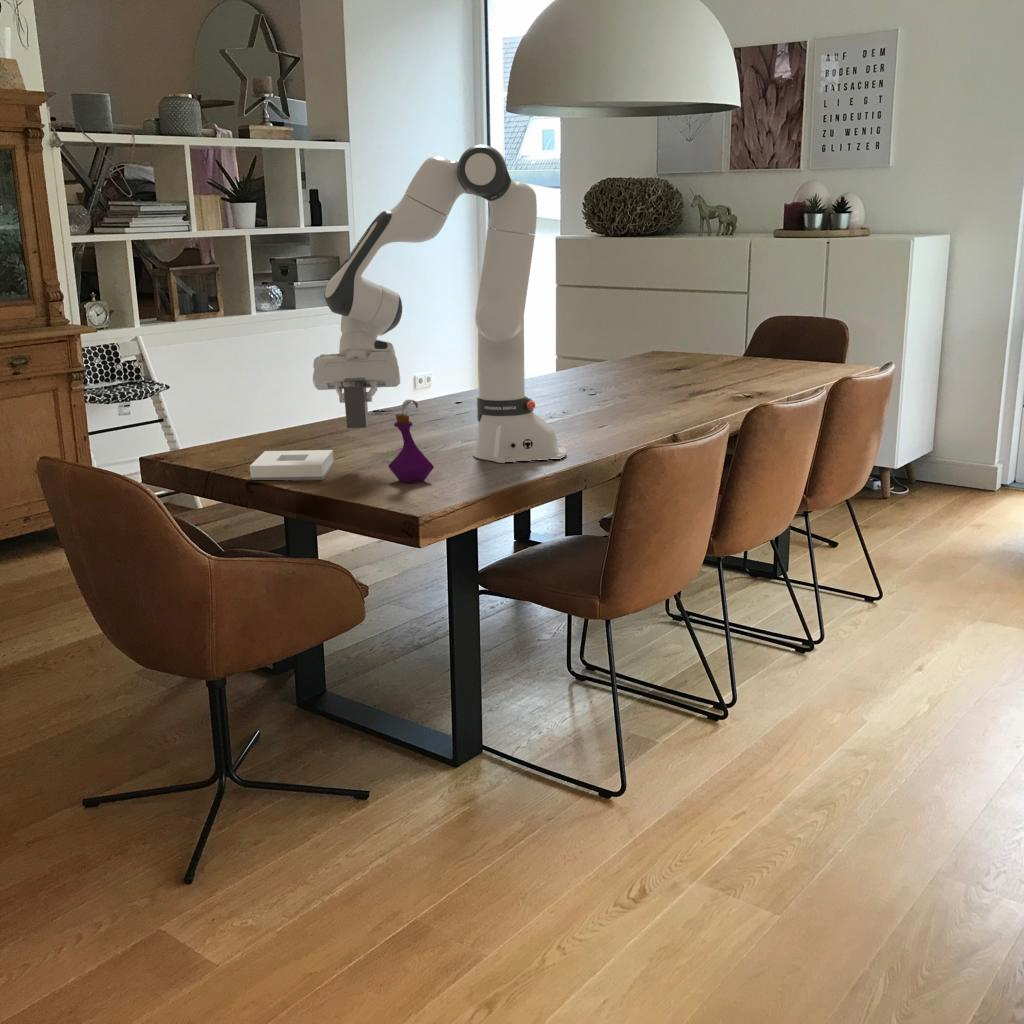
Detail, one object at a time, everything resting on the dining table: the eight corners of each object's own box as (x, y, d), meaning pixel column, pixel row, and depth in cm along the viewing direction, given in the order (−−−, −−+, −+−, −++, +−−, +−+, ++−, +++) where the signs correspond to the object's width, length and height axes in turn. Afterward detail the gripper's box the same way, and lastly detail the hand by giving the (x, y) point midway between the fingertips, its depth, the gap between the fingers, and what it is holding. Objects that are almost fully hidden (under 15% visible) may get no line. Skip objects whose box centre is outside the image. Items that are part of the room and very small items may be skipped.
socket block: (333, 464, 270) (332, 449, 269) (322, 480, 254) (321, 464, 253) (265, 465, 270) (264, 451, 269) (250, 481, 254) (249, 465, 253)
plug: (368, 423, 267) (365, 377, 264) (366, 427, 263) (362, 380, 260) (349, 424, 267) (345, 378, 265) (347, 428, 263) (343, 380, 260)
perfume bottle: (405, 486, 247) (402, 404, 242) (388, 480, 253) (384, 399, 248) (434, 481, 251) (432, 400, 247) (417, 475, 257) (414, 396, 253)
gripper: (311, 346, 267) (308, 394, 260) (398, 343, 267) (397, 390, 260) (316, 363, 273) (313, 410, 266) (401, 359, 273) (400, 406, 266)
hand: (355, 400), depth 263 cm, fingers closed on plug, 4 cm apart
